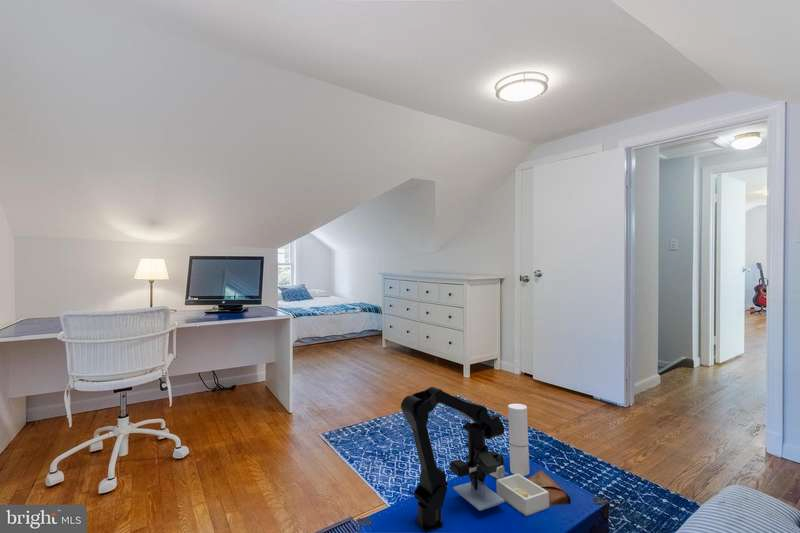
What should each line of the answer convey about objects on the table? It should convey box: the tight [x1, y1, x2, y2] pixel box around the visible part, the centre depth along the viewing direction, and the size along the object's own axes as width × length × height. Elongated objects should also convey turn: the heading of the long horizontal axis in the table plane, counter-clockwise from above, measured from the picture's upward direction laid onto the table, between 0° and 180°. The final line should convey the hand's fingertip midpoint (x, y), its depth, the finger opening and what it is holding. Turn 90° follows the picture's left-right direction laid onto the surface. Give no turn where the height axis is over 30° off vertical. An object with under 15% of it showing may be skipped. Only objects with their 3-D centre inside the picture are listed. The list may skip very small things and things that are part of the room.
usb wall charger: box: [488, 465, 509, 480], centre depth 145 cm, size 4×7×4 cm, turn 36°
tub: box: [495, 474, 550, 517], centre depth 129 cm, size 10×14×5 cm
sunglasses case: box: [527, 469, 572, 507], centre depth 135 cm, size 18×7×7 cm
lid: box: [452, 479, 506, 512], centre depth 127 cm, size 10×14×6 cm
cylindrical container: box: [507, 403, 530, 477], centre depth 150 cm, size 7×7×25 cm
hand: (477, 489), depth 128 cm, fingers closed on lid
